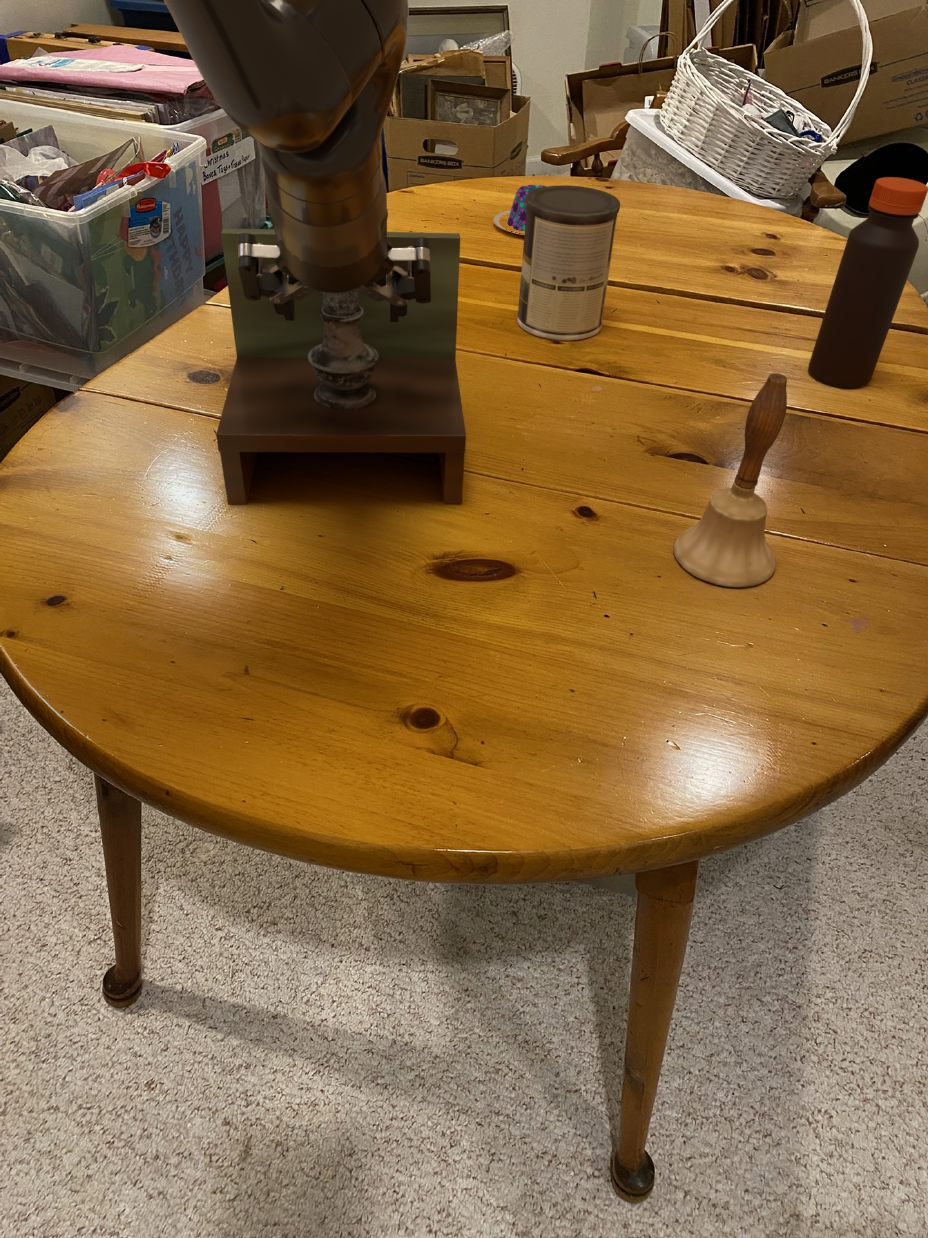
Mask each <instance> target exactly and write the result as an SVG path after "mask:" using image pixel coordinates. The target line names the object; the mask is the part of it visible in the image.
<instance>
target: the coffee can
mask: <svg viewBox="0 0 928 1238" xmlns="http://www.w3.org/2000/svg"><path fill="white" fill-rule="evenodd" d="M526 205H527V208H526V221H525V234H524V235H523V236H524V237H523V246H522V247H523V248H522V259H521V271H520V285H519V297H518V298H519V299H518V309H517V317H516V322H517V324H518V326H519V327H520V328H521V329H522V330H523V331H524V332H526V333H528V334H531V335H532V336H535V337H538V338H542V339H546V340H552V341H565V342H571V341H580V340H584V339H589V338H592V337H594V336H595V335H597V334H598V333H600V332H601V330H602V328H603V317H604V310H605V304H606V296H607V289H608V283H609V282H608V281H609V277H610V276H609V275H610V270H611V269H610V268H611V261H612V255H613V246H614V241H615V234H616V227H617V220H618V214H619V212H620V209H621V201H620V200H619V198H617V197H616V196H615V195H613V194H611V193H609V192H606V191H603V190H599V189H597V188H593V187H588V186H581V185H566V184H565V185H560V184H559V185H548V186H546V187H542V188H538V189H535V190H533V191H531V192H529V193H528V194H527V196H526Z"/></svg>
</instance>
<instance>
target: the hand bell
mask: <svg viewBox="0 0 928 1238" xmlns="http://www.w3.org/2000/svg"><path fill="white" fill-rule="evenodd" d="M787 383H788V377H787V376H786V375H784V374H782V373H779V372H774V373H770V374H769V375H768V377H767V379H766V381H765V382H764V384H763V385H762V387H761V388H760V389H759V391H758V392H757V394H756V395H755V397H754V398H753V400H752V402H751V404H750V407H749V409H748V413H747V416H746V419H745V427H744V451H743V456H742V458H741V460H740V464H739V467H738V469H737V474H736V475H735V477H734V480H733V482H732V485H731V487H725V488H721V489H719V490H717V491H715V492H713V494H712V495H711V497H710V498H709V501H708V504H707V506H706V508H705V510H704V512H703V514H702V516H701V518H700V519H699V521H698V522H697V523H696V524H695V525H692V526H690V527H689V528H687V529H685V530H683V531H682V532H681V533H680V534H679V535H678V536H677V537H676V539H675V541H674V543H673V547H672V548H673V549H672V550H673V555H674V557H675V559H676V560H677V562H678V563H679V564H680V565H681V567H682V568H683V569H684V570H685V571H686V572H688V573H690V574H691V575H692V576H694V577H696V578H698V579H699V580H702V581H705V582H708V583H711V584H714V585H717V586H721V587H728V588H749V587H754V586H758V585H760V584H762V583H765V582H766V581H768V580H769V579H770V578H772V576H773V575H774V573H775V571H776V568H777V562H776V557H775V554H774V552H773V550H772V548H771V547H770V545H769V544H768V543H767V540H766V523H767V522H766V521H767V514H768V505H767V503H766V501H765V500H764V499H763V498H762V497H761V496H760V495H759V494H757V493H755V490H756V487H757V486H758V482H759V478H760V475H761V470H762V466H763V462H764V460H765V457H766V455H767V453H768V452H769V450H770V449H771V448H772V446H773V444H774V443H775V442H776V440H777V438H778V436H779V434H780V432H781V429H782V427H783V424H784V421H785V418H786V415H787V408H788V395H787V393H788V391H787Z"/></svg>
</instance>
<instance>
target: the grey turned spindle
mask: <svg viewBox="0 0 928 1238" xmlns="http://www.w3.org/2000/svg"><path fill="white" fill-rule="evenodd" d="M323 303H324V306H323V307H321V309H320V310H319V314H320V316H321V317H323V320H324V339H323V343H322V344H320V345H318V346H316V347H314V348H313V349H312V350H311V351H310V352H309V354H308V360H309V362H310V364H311V365H312V366H313V371H314V373H315V375H316V377H317V378H318V380H319V381H320V382H322V383H323V384H321V385H320V386H319V387H317V388H316V390H315V392H314V398H315V399H316V401H317V402H318V403H320V404H321V405H323V406H326V407H329V408H333V409H340V410H349V409H357V408H361V407H364V406H366V405H368V404H370V403H371V402H372V401H373V400H374V399H375V397H376V392H375V390H374V388H373V387H372V386H370V385H369V384H367V382H368V381H369V380H370V379H371V376H372V374H373V372H374V369H375V364H376V363H377V361H378V359H379V357H378V353H377V351H376V350H375V349H374V348H372V347H371V346H369V345H366V344H364V343H363V342H362V338H361V334H360V317H361V316H362V315H363V309H362V308H361V307H360V306H358V292H356V293H354V292H352V291H347V292H342V293H327V292H323Z"/></svg>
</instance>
